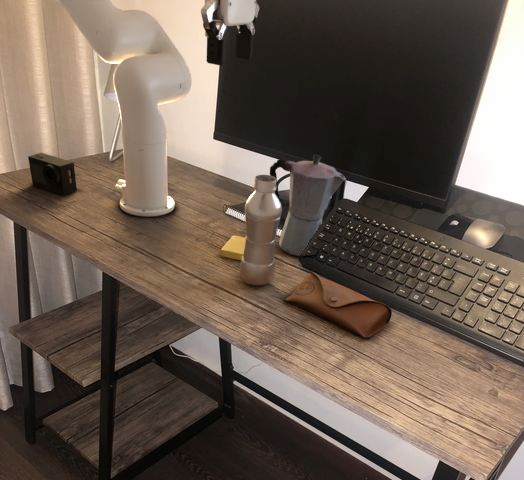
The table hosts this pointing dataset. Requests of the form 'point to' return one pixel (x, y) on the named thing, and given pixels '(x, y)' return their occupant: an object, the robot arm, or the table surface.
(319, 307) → the sunglasses case
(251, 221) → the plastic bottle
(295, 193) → the moka pot
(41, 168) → the digital camera
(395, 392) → the table surface
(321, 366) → the table surface
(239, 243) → the sticky note pad
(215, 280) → the table surface
